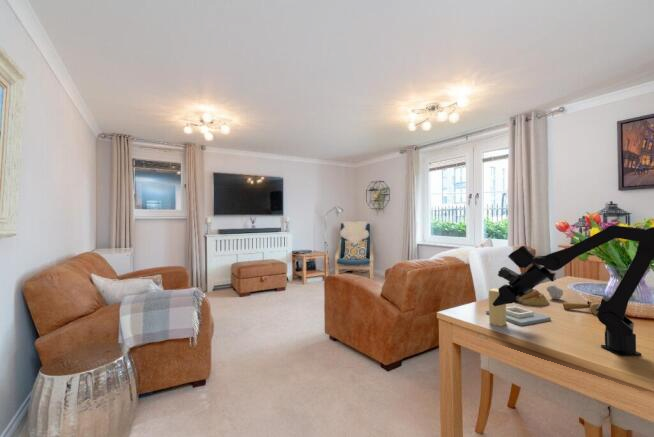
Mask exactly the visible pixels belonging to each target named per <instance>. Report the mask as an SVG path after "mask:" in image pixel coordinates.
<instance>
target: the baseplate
mask: <svg viewBox="0 0 654 437" xmlns="http://www.w3.org/2000/svg"><path fill="white" fill-rule="evenodd" d="M485 314H487V315H489V309H487V310H485ZM551 320H552V318H551V316H547V315H545V314H541V313H538V312H534V311H532V310H530V309H529V310H528V309H525V308H523V307H519V306H506V322H510V323H512V324H514V325H516V326H521V327H522V326H528V325H533V324H539V323H544V322H548V321H551Z"/></svg>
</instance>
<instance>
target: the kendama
mask: <svg viewBox="0 0 654 437" xmlns="http://www.w3.org/2000/svg"><path fill="white" fill-rule="evenodd" d="M598 305H600V304H599V303H592V302H589V301H588V300H587V301H586V303H581V302H579V303H578V302H562V306H563V310H577V309H578V310H581V309H582V310H583V309H589V310H590V312H591V313H592V314H594V315H597V313H598V311H596V308H597V307H598Z"/></svg>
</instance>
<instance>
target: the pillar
mask: <svg viewBox="0 0 654 437" xmlns="http://www.w3.org/2000/svg"><path fill="white" fill-rule="evenodd" d="M498 289H499V288H490V289H489V290H488V310H489V314H488V316H489V317H488V318H489V320H488V321H489V323H490V325H494V326H500V327H503V326H505V325H506V324H507V321H506V307H507V304H504V305H499V306H494V305H493V302H494V301H495V300H496V299H497V297H498V296H499V291H498Z"/></svg>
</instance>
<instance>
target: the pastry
mask: <svg viewBox="0 0 654 437" xmlns="http://www.w3.org/2000/svg"><path fill="white" fill-rule="evenodd" d="M514 303H519V304H521V305H526V306H534V307H535V306H536V307H542V306H544V307H545V306H550V302H549V300H548V299H547V297H546V296H545V295H544V293H542V292H540V291H539V290H538V289H535V288H532V289H531V290H530V292H528V293H527V294H525V295H523V296H522V297H519V299H518V300H516V301H515V302H514Z"/></svg>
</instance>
